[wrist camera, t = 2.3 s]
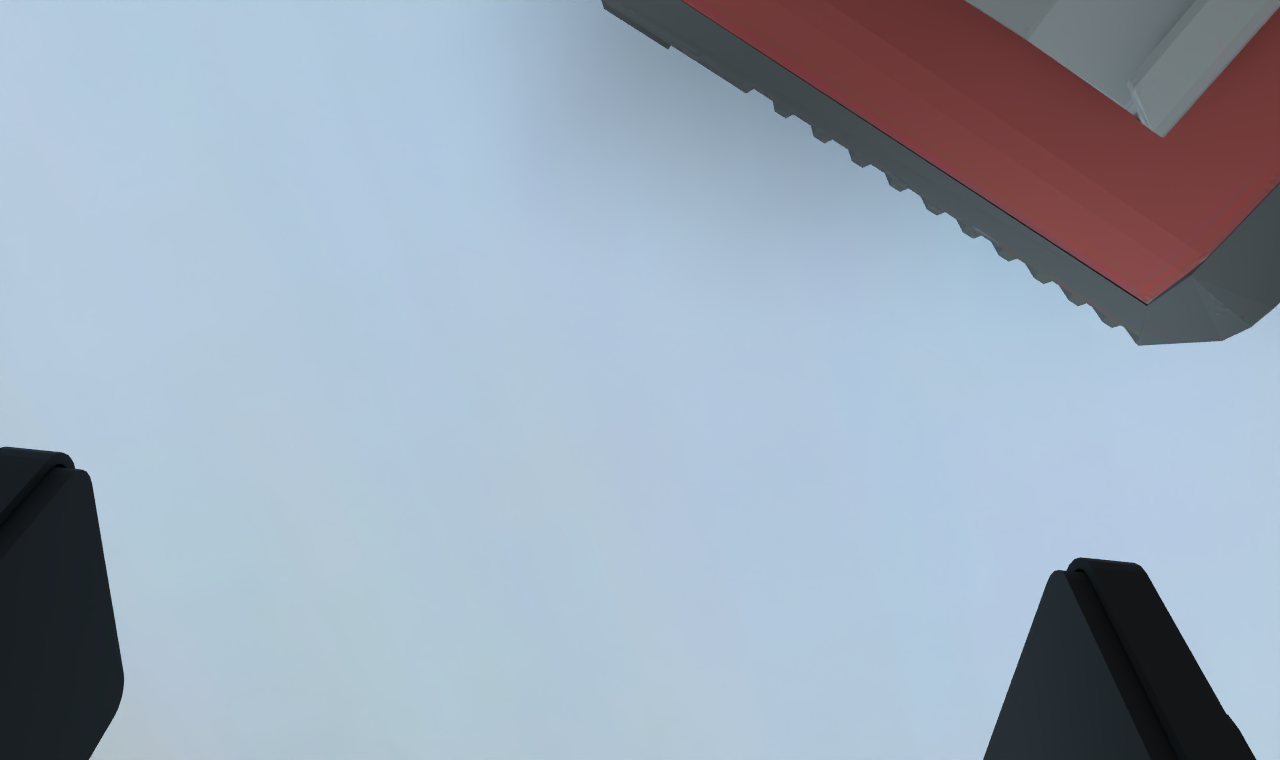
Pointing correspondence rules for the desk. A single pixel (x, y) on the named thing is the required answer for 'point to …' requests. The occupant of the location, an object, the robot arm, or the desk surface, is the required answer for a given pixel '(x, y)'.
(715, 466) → the desk surface
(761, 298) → the desk surface
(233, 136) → the desk surface
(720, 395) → the desk surface
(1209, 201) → the walkie-talkie
